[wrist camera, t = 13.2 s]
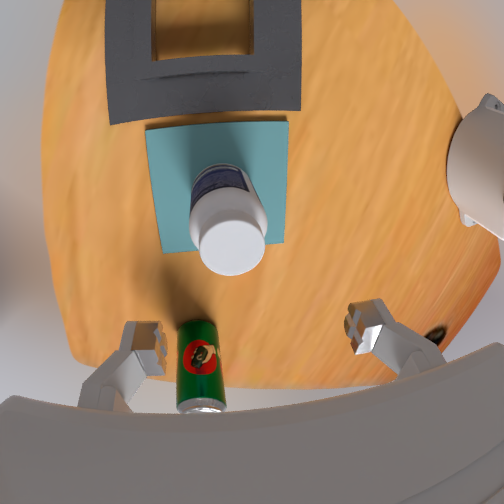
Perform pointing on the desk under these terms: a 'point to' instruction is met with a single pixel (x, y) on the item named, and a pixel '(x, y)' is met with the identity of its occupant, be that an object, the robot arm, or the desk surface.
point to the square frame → (201, 66)
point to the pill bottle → (227, 220)
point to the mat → (209, 153)
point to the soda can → (199, 369)
